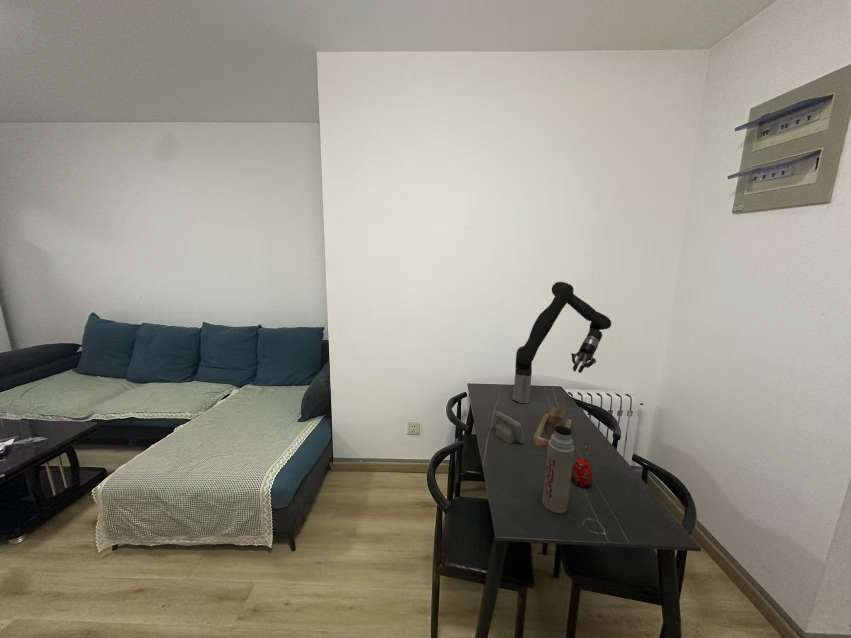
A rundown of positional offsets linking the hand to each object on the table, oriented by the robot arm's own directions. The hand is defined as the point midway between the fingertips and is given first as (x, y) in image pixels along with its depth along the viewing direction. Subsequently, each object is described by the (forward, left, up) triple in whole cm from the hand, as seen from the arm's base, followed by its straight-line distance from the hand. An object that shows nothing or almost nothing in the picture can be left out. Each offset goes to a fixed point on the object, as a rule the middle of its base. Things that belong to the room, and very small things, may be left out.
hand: (576, 371), depth 172 cm
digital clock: (-23, -43, -25) cm, 55 cm away
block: (-5, -22, -25) cm, 34 cm away
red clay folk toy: (+9, -59, -25) cm, 65 cm away
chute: (-5, -29, -25) cm, 39 cm away
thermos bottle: (+3, -77, -25) cm, 81 cm away
